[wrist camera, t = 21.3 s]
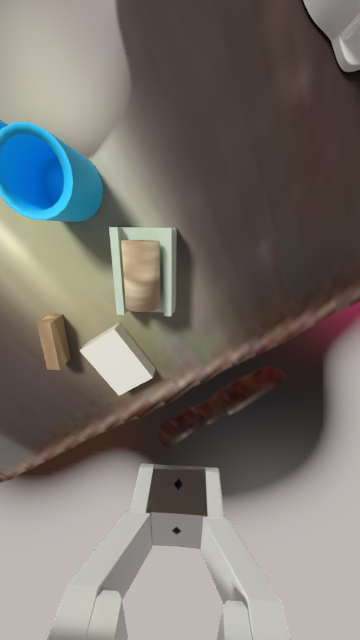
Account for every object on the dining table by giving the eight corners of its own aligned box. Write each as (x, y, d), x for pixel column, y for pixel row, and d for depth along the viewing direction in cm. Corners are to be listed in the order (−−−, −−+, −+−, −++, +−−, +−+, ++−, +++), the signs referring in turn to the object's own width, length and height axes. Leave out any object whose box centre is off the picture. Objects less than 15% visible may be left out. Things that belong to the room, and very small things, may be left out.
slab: (155, 367, 40) (152, 377, 37) (123, 384, 41) (118, 395, 39) (120, 321, 37) (114, 329, 34) (87, 341, 39) (79, 350, 36)
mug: (116, 188, 30) (89, 174, 22) (79, 235, 32) (43, 237, 24) (37, 105, 27) (-24, 56, 19) (3, 163, 29) (-63, 140, 22)
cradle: (176, 228, 31) (174, 228, 27) (175, 306, 35) (173, 316, 31) (117, 227, 31) (106, 227, 27) (124, 304, 35) (114, 314, 31)
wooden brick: (62, 314, 36) (50, 322, 33) (70, 358, 39) (59, 369, 36) (50, 314, 37) (36, 322, 33) (59, 357, 40) (47, 369, 36)
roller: (161, 240, 29) (157, 242, 25) (161, 301, 32) (158, 312, 28) (126, 239, 29) (116, 241, 25) (130, 300, 32) (122, 311, 28)
